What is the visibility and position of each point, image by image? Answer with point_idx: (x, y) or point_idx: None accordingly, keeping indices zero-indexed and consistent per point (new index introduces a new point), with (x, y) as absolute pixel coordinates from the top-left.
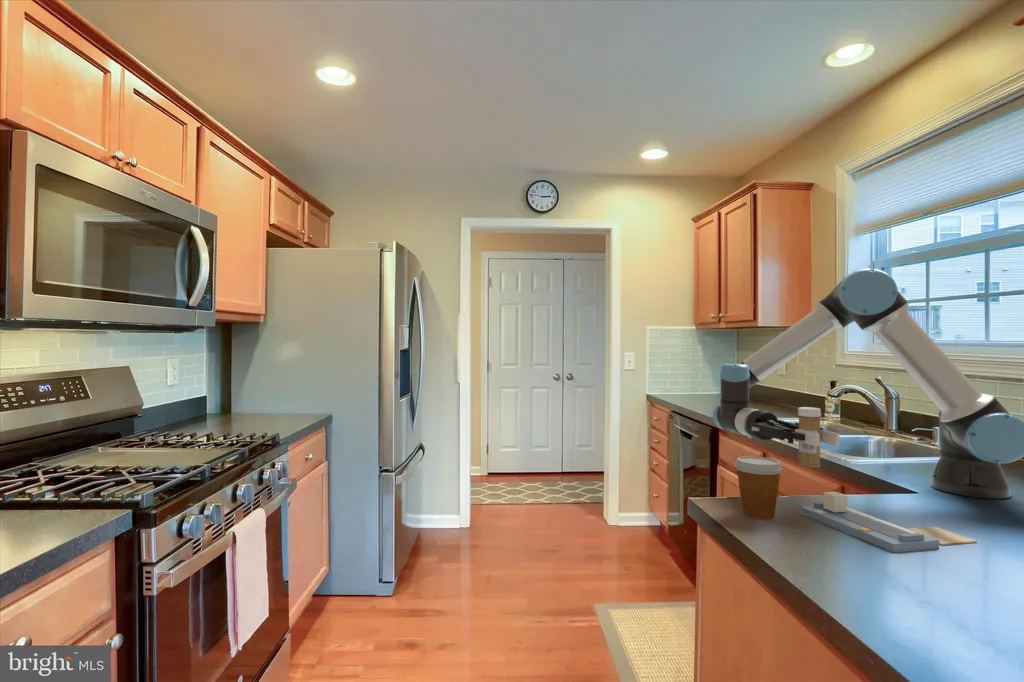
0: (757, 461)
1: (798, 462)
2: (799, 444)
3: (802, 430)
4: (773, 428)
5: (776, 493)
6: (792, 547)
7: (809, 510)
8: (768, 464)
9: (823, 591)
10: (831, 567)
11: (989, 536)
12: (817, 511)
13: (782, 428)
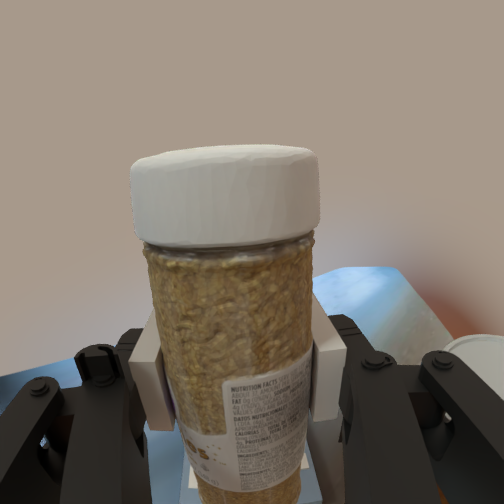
0: (501, 379)
1: (297, 498)
2: (306, 426)
3: (314, 319)
4: (499, 404)
5: None
6: (415, 361)
7: (316, 477)
8: (471, 337)
9: (410, 302)
10: (387, 328)
11: (76, 371)
12: (305, 460)
13: (439, 357)
